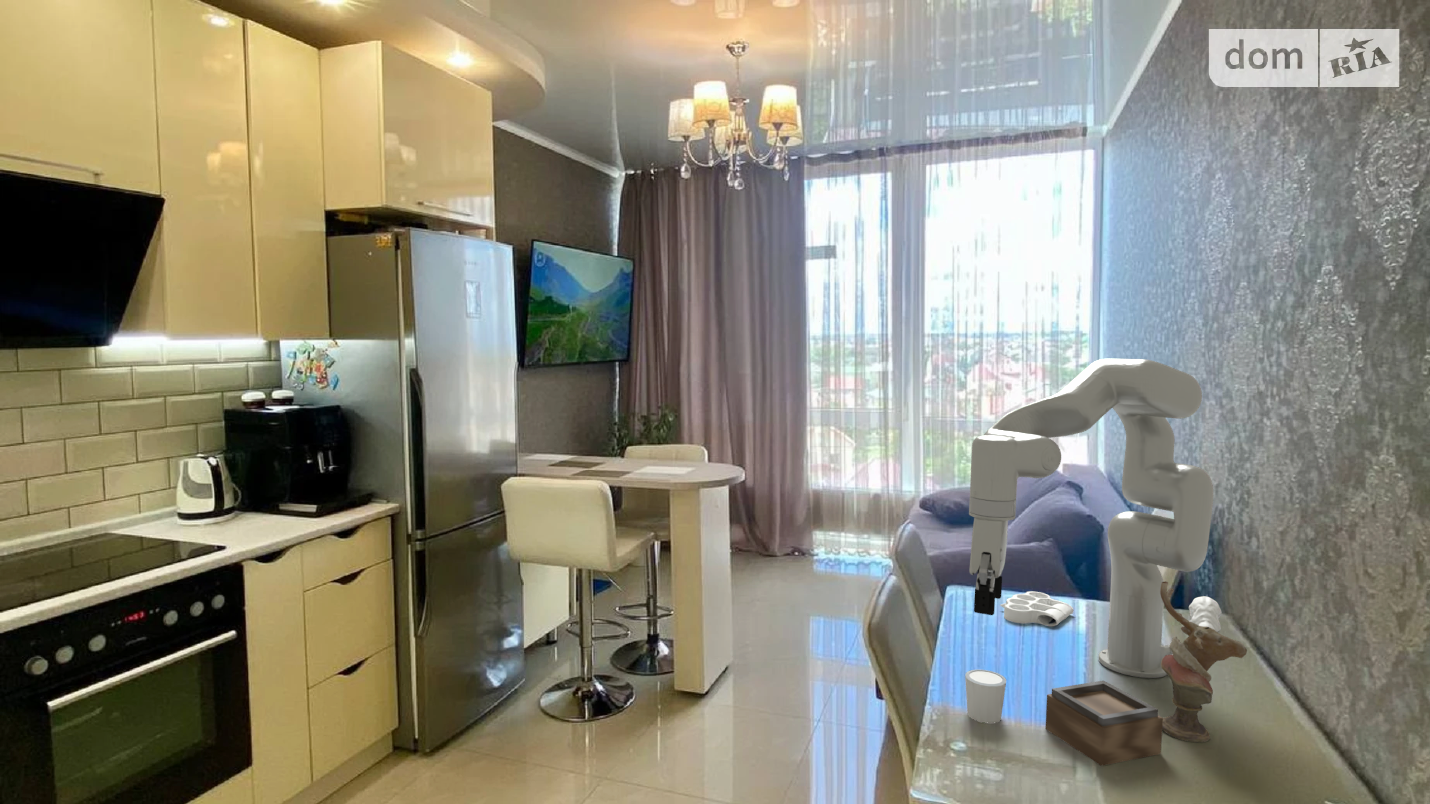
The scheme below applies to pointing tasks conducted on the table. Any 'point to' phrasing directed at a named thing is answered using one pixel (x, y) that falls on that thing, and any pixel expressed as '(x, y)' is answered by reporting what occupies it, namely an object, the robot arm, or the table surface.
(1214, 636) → the decorative bust
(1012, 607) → the white flat perforated piece
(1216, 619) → the white lumpy piece
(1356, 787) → the table surface
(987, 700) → the white short cylinder
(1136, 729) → the display riser
